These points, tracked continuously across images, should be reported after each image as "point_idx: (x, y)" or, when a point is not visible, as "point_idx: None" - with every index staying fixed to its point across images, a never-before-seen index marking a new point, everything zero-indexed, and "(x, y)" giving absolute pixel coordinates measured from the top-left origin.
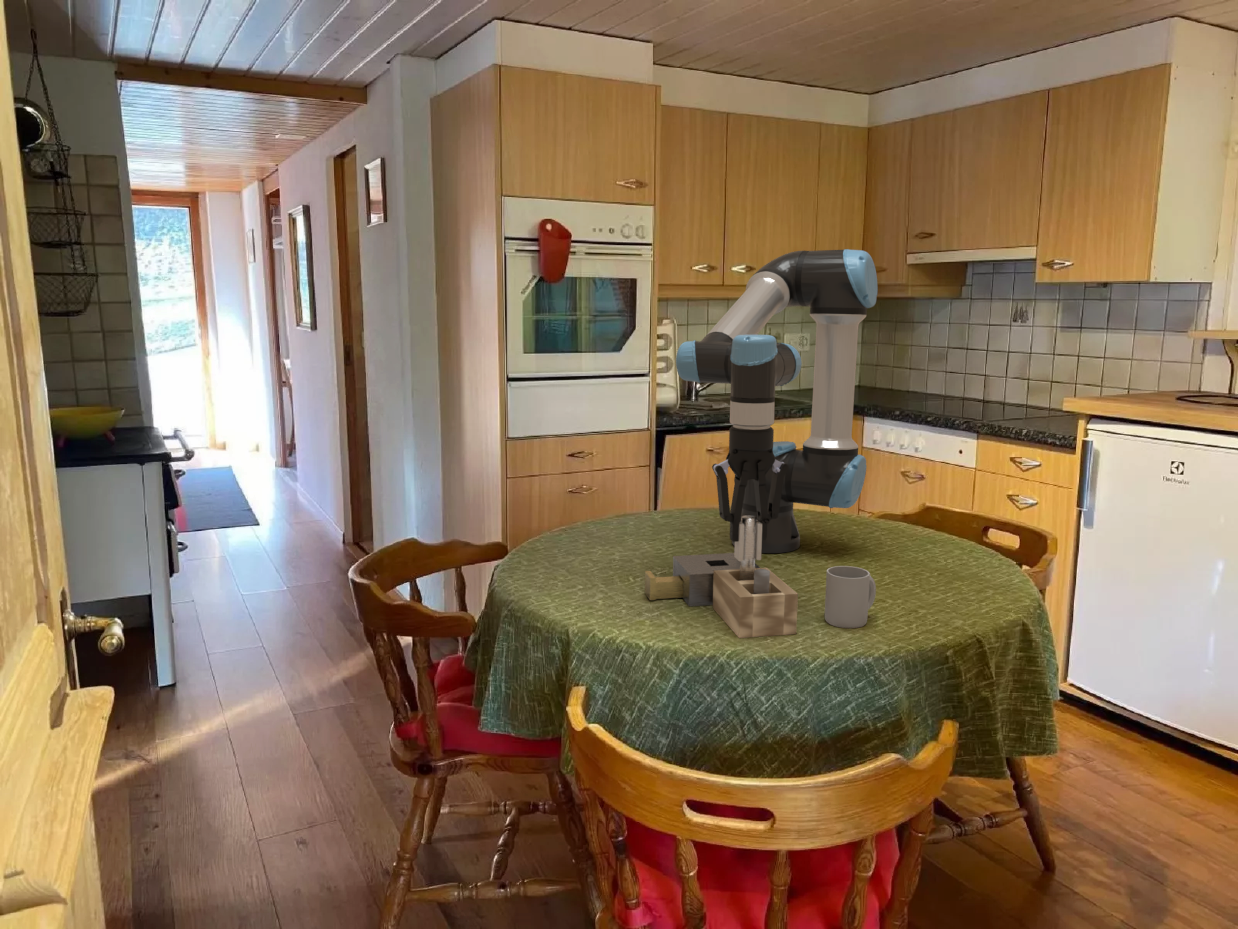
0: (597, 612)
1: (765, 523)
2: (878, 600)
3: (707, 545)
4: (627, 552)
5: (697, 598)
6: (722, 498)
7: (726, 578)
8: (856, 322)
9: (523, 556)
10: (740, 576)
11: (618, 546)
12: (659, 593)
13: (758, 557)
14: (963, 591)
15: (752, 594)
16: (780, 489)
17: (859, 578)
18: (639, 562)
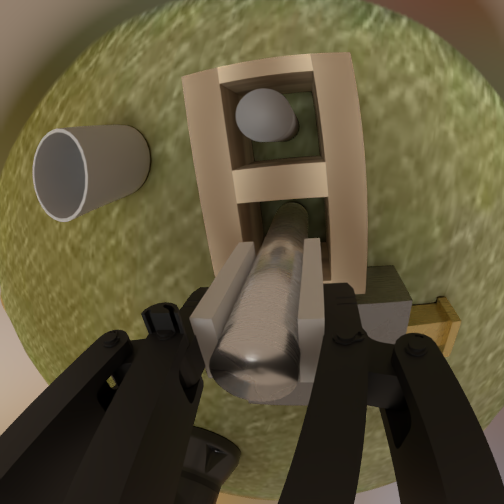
0: None
1: (171, 305)
2: (77, 252)
3: (271, 457)
4: (375, 450)
5: (381, 273)
6: (488, 454)
7: (353, 222)
8: None
9: None
10: (307, 238)
11: (374, 460)
12: (431, 309)
13: (246, 244)
14: (20, 267)
15: (310, 69)
16: (13, 432)
17: (47, 133)
18: (378, 430)
